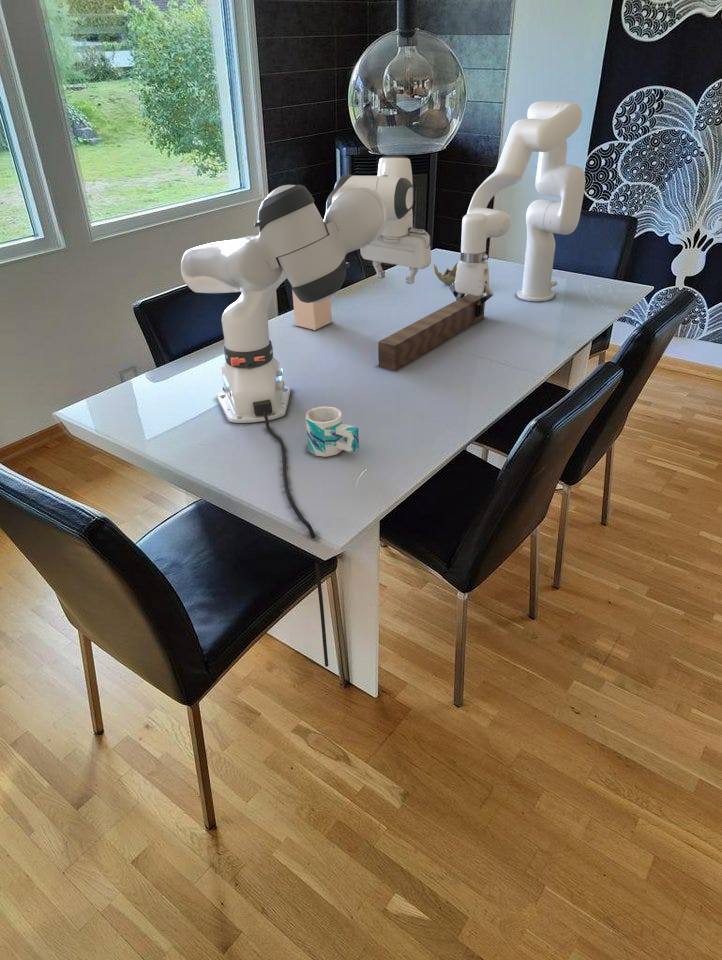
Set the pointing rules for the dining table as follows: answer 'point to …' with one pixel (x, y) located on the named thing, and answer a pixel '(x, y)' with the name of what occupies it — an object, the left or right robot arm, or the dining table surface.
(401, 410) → the dining table surface
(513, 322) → the dining table surface
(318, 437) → the mug
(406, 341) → the bar
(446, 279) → the jawbone
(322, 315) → the soap dispenser
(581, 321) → the dining table surface
